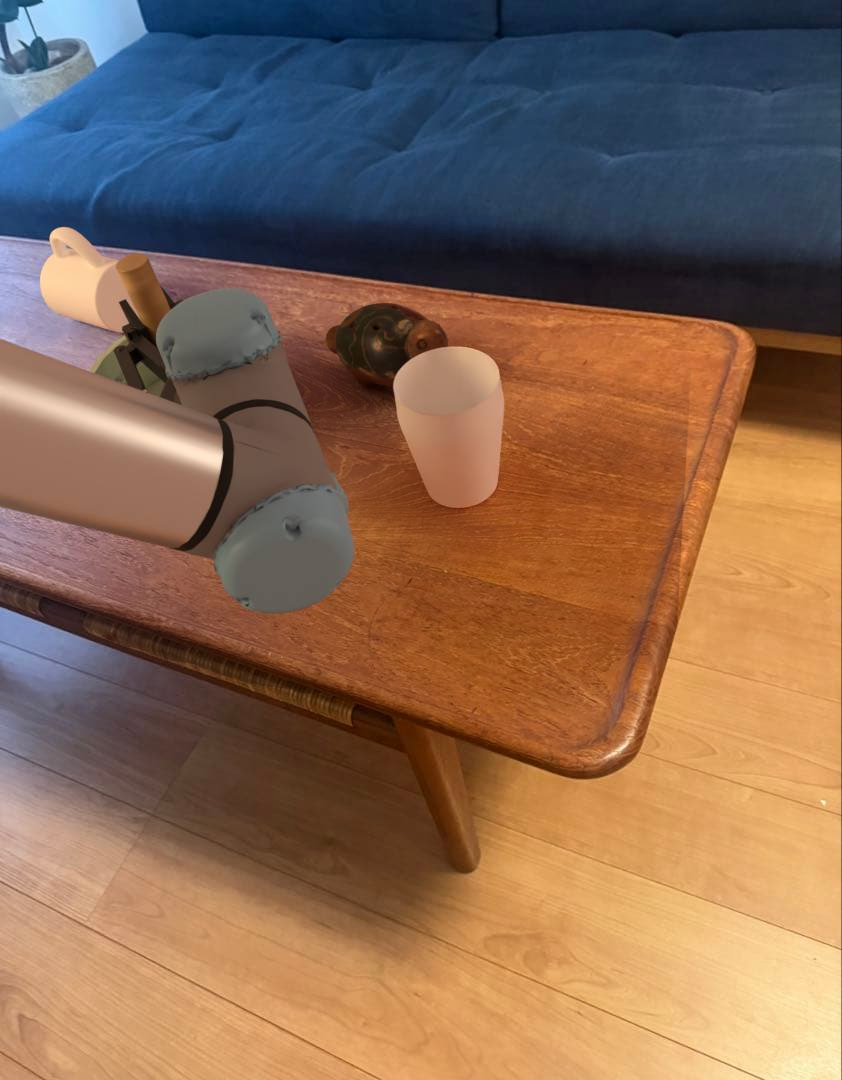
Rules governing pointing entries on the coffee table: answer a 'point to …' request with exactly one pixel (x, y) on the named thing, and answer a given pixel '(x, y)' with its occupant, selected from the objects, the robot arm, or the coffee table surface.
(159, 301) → the wooden peg stand
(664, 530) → the coffee table surface
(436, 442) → the cup
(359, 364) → the decorative turtle
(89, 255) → the mug
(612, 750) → the coffee table surface
